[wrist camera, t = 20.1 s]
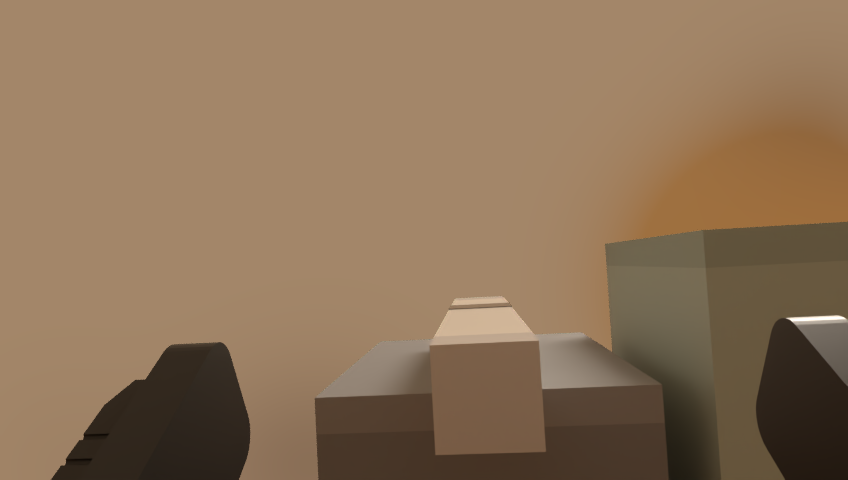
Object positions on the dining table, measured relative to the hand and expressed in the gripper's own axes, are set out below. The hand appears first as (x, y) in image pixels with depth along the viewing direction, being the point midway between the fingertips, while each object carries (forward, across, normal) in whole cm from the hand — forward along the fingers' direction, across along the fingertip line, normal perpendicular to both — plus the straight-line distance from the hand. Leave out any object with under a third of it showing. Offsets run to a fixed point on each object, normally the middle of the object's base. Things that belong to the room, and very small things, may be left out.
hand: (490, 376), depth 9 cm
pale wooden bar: (+14, 0, +12) cm, 19 cm away
